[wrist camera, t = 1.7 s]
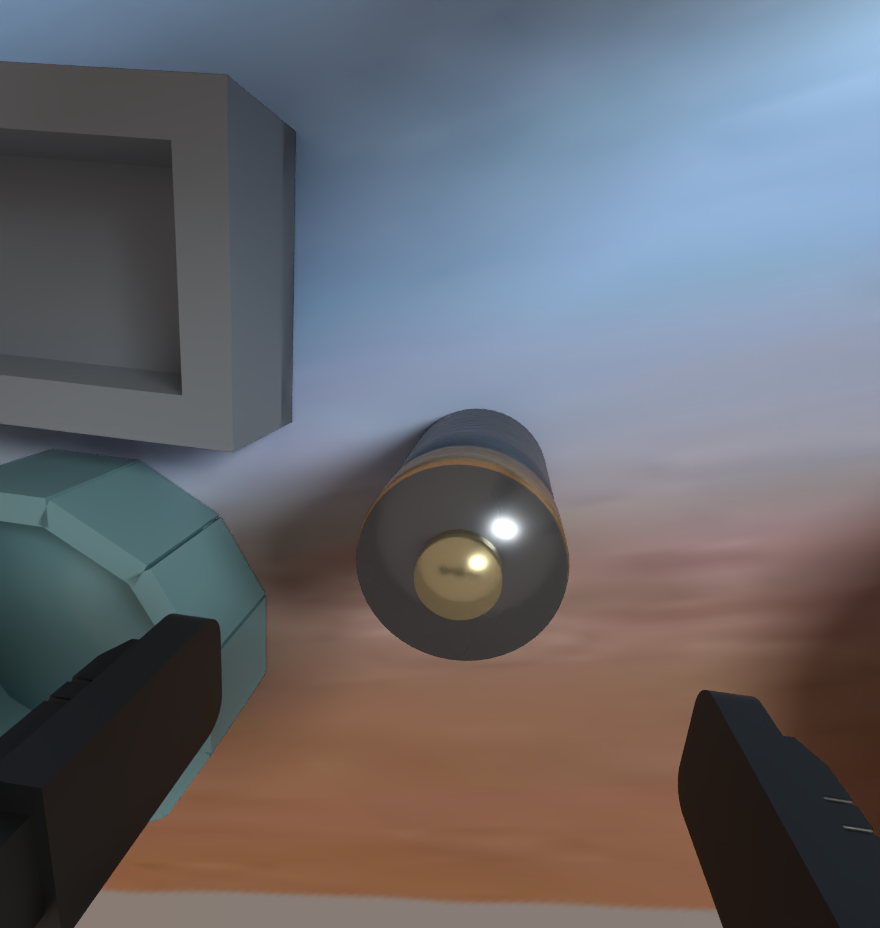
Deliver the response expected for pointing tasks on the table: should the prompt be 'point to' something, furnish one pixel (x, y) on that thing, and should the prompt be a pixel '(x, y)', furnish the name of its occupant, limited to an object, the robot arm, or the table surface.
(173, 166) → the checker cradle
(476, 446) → the cell
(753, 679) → the table surface
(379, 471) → the table surface
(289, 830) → the table surface
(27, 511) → the cup
